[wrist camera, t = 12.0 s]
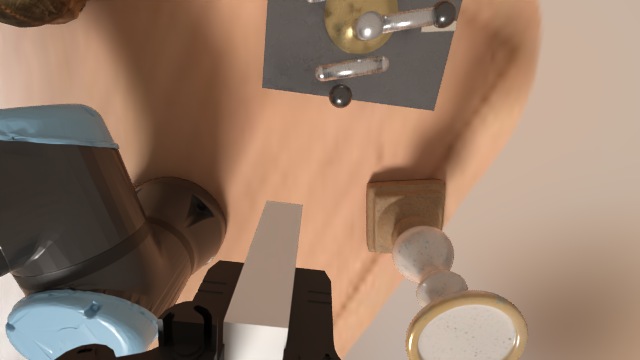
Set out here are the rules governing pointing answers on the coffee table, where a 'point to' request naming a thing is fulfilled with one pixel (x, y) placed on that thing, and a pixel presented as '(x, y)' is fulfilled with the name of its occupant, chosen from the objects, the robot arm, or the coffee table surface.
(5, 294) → the coffee table surface
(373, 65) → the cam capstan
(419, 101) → the stand
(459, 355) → the candle holder
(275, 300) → the robot arm
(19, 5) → the dark brown rounded lump
